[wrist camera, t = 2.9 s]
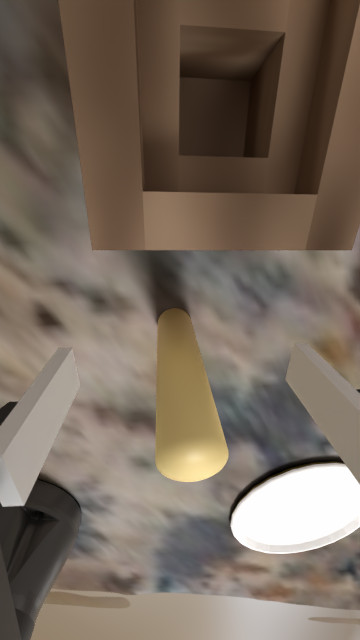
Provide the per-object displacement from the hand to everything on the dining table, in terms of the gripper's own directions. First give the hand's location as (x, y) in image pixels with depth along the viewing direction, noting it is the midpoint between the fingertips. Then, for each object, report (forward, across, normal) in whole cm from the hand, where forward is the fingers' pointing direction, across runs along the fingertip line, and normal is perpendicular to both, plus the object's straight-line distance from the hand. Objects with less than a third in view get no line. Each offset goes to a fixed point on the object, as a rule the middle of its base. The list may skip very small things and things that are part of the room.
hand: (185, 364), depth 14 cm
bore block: (+6, +2, +13) cm, 14 cm away
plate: (+7, +18, -29) cm, 35 cm away
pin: (+6, 0, 0) cm, 6 cm away
